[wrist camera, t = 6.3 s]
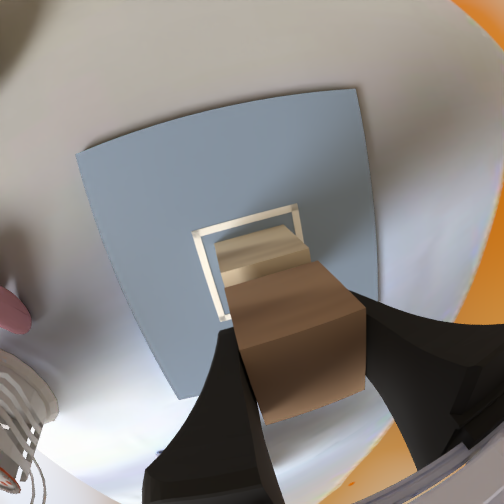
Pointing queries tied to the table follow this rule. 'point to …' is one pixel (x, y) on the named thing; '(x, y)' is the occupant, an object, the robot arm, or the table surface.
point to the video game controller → (13, 313)
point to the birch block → (260, 254)
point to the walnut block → (299, 339)
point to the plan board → (228, 211)
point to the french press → (21, 419)
